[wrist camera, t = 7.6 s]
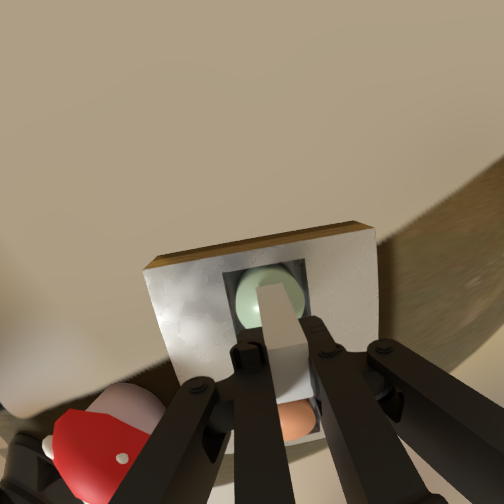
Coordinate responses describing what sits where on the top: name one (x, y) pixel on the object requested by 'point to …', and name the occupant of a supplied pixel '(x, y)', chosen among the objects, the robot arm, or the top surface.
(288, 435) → the button terracotta
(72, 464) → the mushroom
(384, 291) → the top surface
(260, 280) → the button sage
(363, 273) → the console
